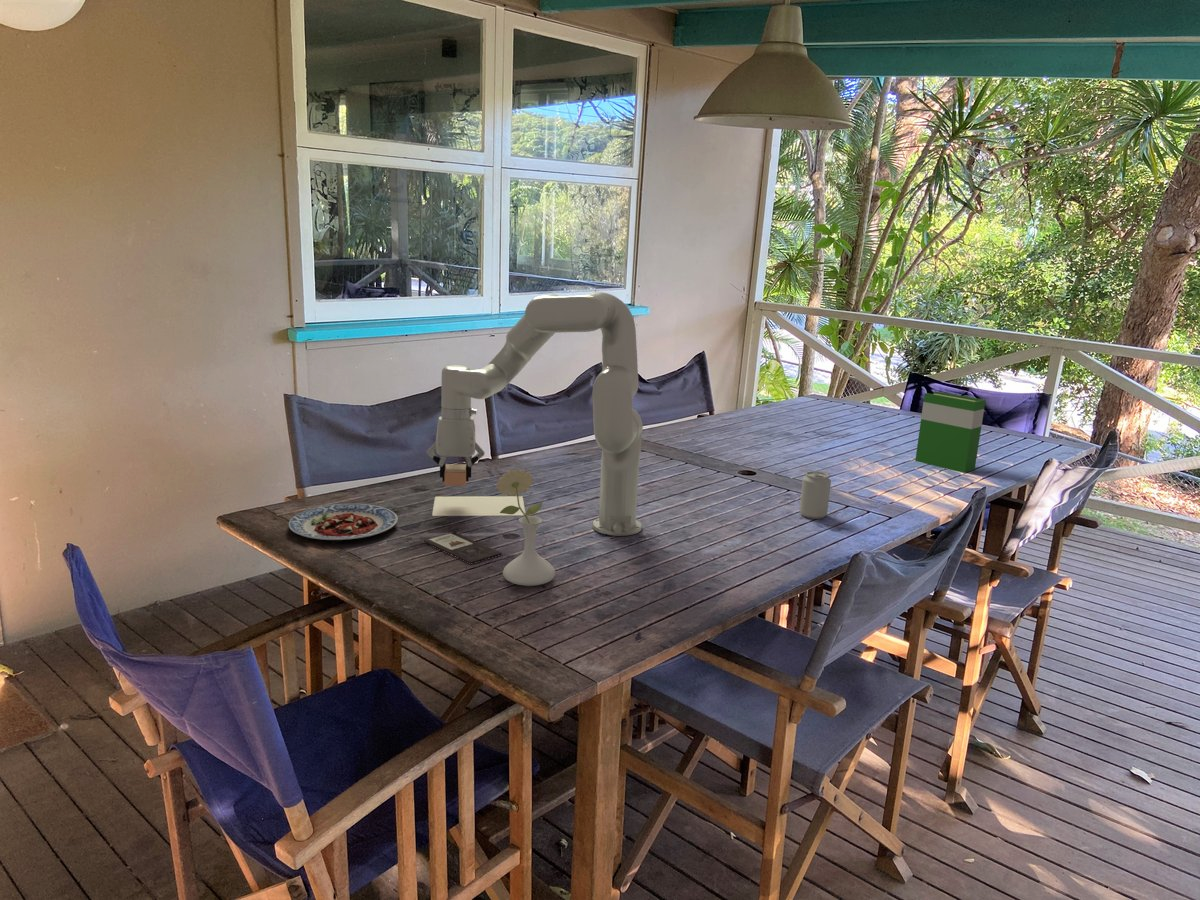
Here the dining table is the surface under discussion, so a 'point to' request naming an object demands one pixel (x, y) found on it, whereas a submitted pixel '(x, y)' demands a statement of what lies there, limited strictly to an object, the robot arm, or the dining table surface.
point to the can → (815, 495)
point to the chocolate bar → (463, 547)
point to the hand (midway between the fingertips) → (455, 479)
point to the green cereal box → (950, 431)
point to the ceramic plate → (343, 521)
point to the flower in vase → (529, 564)
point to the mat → (476, 505)
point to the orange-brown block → (455, 475)
